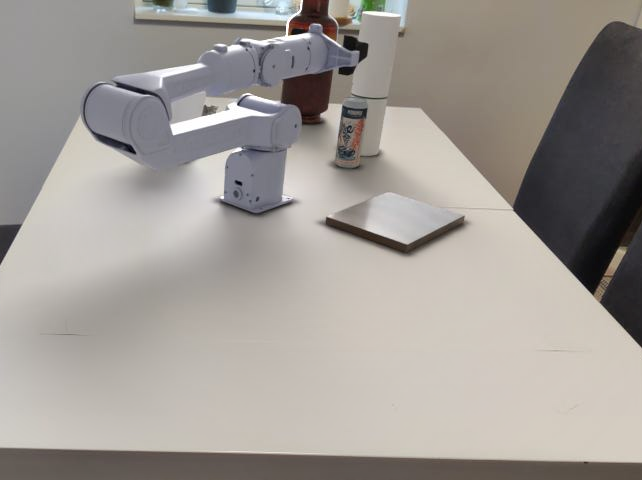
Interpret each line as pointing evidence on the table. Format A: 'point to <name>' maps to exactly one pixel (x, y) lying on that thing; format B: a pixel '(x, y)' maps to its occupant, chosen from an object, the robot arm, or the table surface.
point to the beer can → (351, 132)
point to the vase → (310, 88)
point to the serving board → (395, 221)
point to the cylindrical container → (375, 72)
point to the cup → (188, 108)
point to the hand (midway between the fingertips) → (346, 46)
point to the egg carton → (209, 110)
